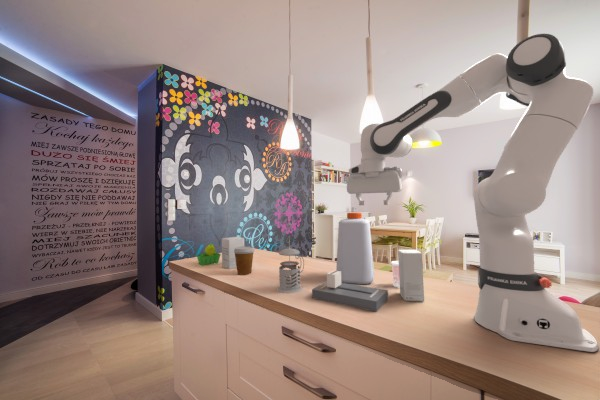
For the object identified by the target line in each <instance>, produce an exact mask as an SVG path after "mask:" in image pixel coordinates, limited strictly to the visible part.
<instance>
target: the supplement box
mask: <svg viewBox="0 0 600 400" xmlns="http://www.w3.org/2000/svg"><path fill="white" fill-rule="evenodd" d="M241 246H245V238H244V237H240V236H231V237H223V238H222V237H221V267H223V268H225V269H227V270H233V269H237V266H236V259H235V253H234V249H235V248H236V247H241Z"/></svg>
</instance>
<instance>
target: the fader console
mask: <svg viewBox="0 0 600 400" xmlns="http://www.w3.org/2000/svg"><path fill="white" fill-rule="evenodd" d="M311 298H312V299H315V300H319V301H324V302H329V303H334V304H338V305H343V306H347V307H353V308H356V309H362V310H367V311H371V312H376V313H377V312H378V311H379V310H380V309H381V308H382V306H384V305H385V303H386V302H387V301H388V299H389V291H388V289H383V288H377V287H370V286H365V285H360V284H354V283H343V282H341V285H340V286H338V287H336V288H331V287H327V280H326V281H324V282H323V283H321V284H319V285H318V286H315V287H314V288H312V289H311Z"/></svg>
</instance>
